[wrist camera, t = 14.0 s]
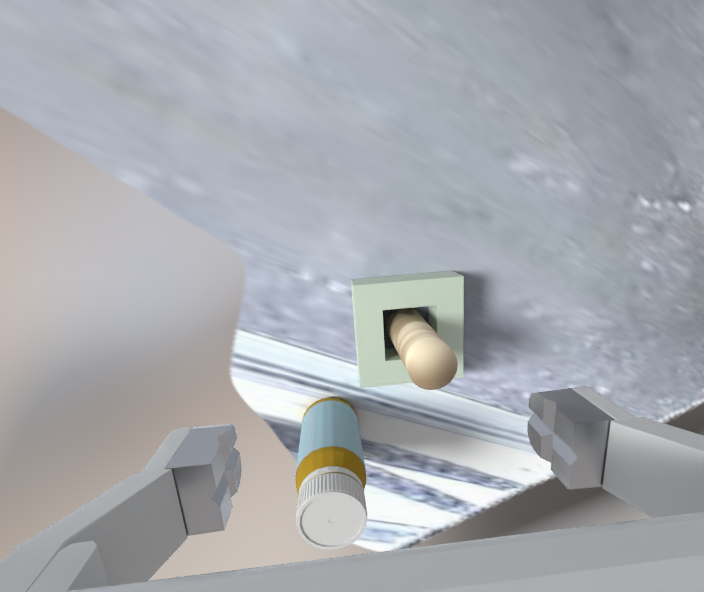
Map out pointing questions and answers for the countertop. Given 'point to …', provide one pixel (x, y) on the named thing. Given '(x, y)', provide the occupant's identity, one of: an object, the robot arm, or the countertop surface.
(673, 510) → the robot arm
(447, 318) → the socket
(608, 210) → the countertop surface
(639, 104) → the countertop surface
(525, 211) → the countertop surface
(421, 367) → the peg
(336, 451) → the bottle
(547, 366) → the countertop surface
